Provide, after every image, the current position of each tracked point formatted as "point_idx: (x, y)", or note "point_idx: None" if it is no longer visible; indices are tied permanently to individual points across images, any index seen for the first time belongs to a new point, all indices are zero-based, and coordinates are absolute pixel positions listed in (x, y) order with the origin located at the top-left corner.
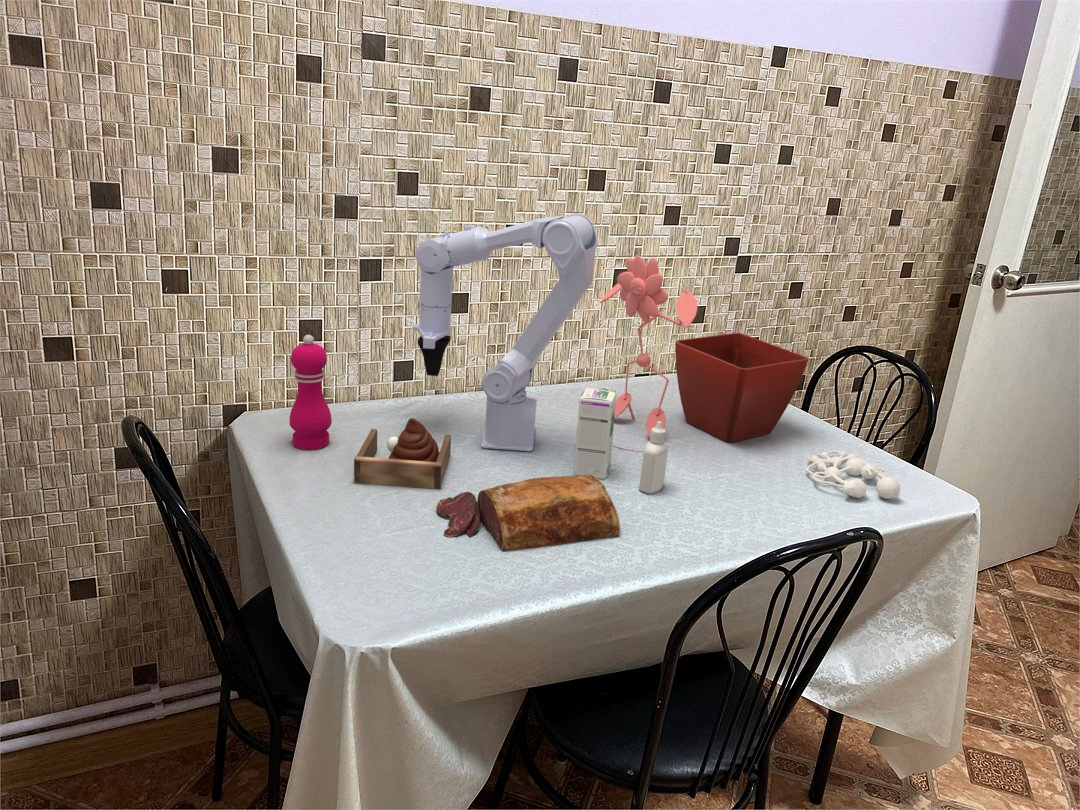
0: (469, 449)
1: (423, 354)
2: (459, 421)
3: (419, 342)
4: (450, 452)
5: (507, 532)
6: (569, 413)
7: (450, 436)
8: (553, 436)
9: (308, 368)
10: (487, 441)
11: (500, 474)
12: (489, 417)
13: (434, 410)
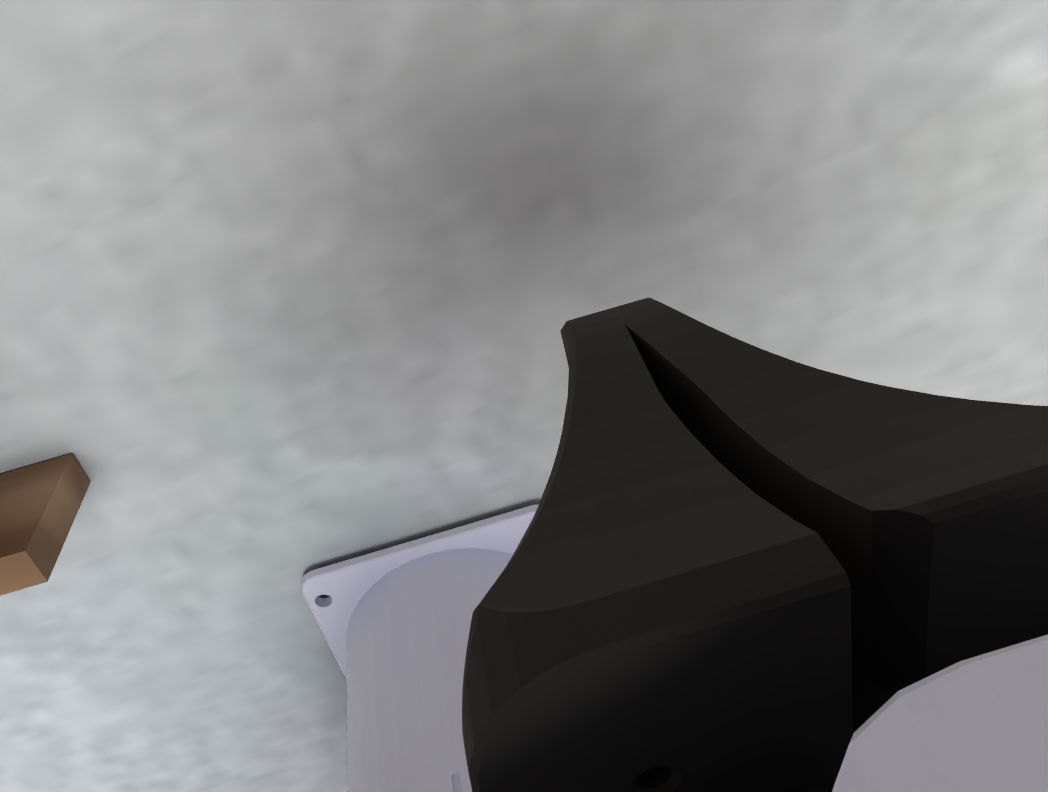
0: (254, 526)
1: (541, 502)
2: None
3: (474, 702)
4: (84, 494)
5: None
6: None
7: (14, 590)
8: None
9: None
10: (368, 592)
11: (46, 749)
12: (369, 725)
13: (823, 54)
